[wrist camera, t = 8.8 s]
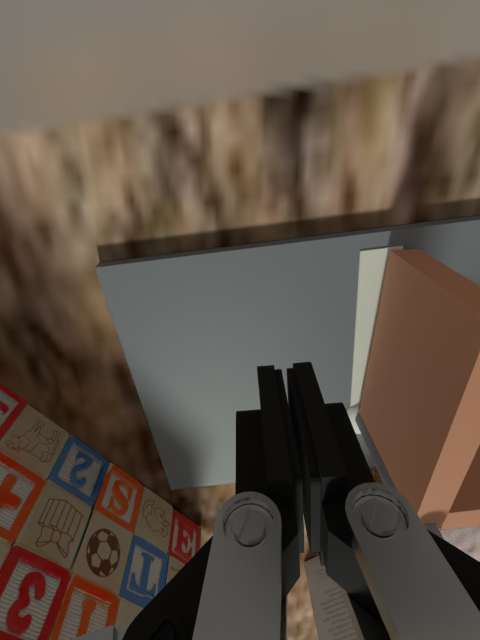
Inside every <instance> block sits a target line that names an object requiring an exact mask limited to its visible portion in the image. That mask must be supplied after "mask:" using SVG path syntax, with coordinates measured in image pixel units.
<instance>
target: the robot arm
mask: <svg viewBox="0 0 480 640" xmlns="http://www.w3.org/2000/svg"><path fill="white" fill-rule="evenodd" d="M257 374H258V385H259V397H260V408H261V409H257V410H245V411H236V495H234V496H233V497H231V498H230V499H229V500H227V501H226V502H225V503H224V505H223V506H222V507H221V509H220V511H219V513H218V516H217V519H216V524H215V529H214V534H213V536H212V537H211V538H210V539H209V540H208V541H207V542H206V543H205V545H204V546H203V547H202V548H201V549H200V550H199V551H198V552H197V553H196V554H195V555H194V556H193V557H192V558H191V559H190V560H189V561H188V562H187V563H186V564H185V565H184V567H183V568H182V569H181V570H180V571H179V572H178V573H177V574H176V575H175V576H174V577H173V578H172V579H171V580H170V581H169V582H168V583H167V584H166V585H165V586H164V588H163V589H162V590H161V591H160V592H159V593H158V594H157V595H156V596H155V597H154V598H153V599H152V600H151V601H150V602H149V603H148V604H147V605H146V606H145V607H144V608H143V610H142V611H141V612H140V613H139V614H138V615H137V616H136V617H135V619H134V620H133V621H132V623H129V624H126V625H123V626H120V627H118V628H115V626H114V625H110V626H107V627H105V628H102V629H99V630H96V631H93V632H90V633H88V634H85V635H82V636H79V637H76V638H73V639H71V640H287V594H288V593H289V591H290V590H291V589H292V587H293V586H294V584H295V583H296V581H297V580H298V579H299V577H300V562H299V553H304V524H303V513H304V519H305V525H306V530H307V536H308V542H309V547H310V551H311V552H318V554H319V559H320V564H321V566H325V568H326V573H327V575H328V576H329V577H330V578H331V579H332V580H334V581H335V582H336V583H337V584H338V585H339V586H340V587H341V591H342V595H343V598H344V601H345V603H346V606H347V609H348V612H349V614H350V617H351V620H352V623H353V626H354V628H355V631H356V634H357V637H358V639H359V640H480V562H478V561H477V560H475V559H474V558H472V557H471V556H469V555H467V554H466V553H464V552H463V551H461V550H459V549H458V548H456V547H455V546H453V545H451V544H450V543H448V542H447V541H445V540H443V539H442V538H440V537H439V536H437V535H435V534H434V533H432V532H431V531H429V530H427V529H426V527H425V526H424V524H423V523H422V521H421V519H420V518H419V516H418V515H417V513H416V512H415V510H414V508H413V507H412V505H411V504H410V503H409V502H408V501H407V499H406V498H405V497H404V496H403V495H402V494H400V493H399V492H398V491H396V490H395V489H393V488H391V487H389V486H387V485H384V484H380V483H375V481H374V479H373V476H372V474H371V471H370V469H369V466H368V464H367V461H366V459H365V456H364V454H363V451H362V449H361V446H360V443H359V441H358V438H357V436H356V433H355V431H354V428H353V426H352V423H351V421H350V418H349V416H348V413H347V411H346V408H345V406H344V404H343V403H342V402H339V403H327V404H325V403H324V400H323V397H322V393H321V390H320V387H319V384H318V381H317V378H316V375H315V372H314V369H313V366H312V363H311V362H301V363H293V368H287V390H288V401H287V395H286V390H285V385H284V380H283V375H282V370H281V369H275V367H274V365H268V366H257Z"/></svg>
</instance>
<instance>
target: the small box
mask: <svg viewBox="0 0 480 640" xmlns="http://www.w3.org/2000/svg"><path fill="white" fill-rule="evenodd" d="M304 567H305V572H306V576H307V581H308V587H309V592H310V597H311V602H312V607H313V613H314V618H315V623H316V628H317V634H318V639H319V640H359V639H358V637H357V634H356V631H355V628H354V626H353V623H352V620H351V617H350V614H349V612H348V609H347V606H346V603H345V601H344V598H343V595H342V591H341V587H340V586H339V585H338V584H337V583H336V582H335V581H334V580H332V579H331V578H330V577H329V576H328V575H327V573H326V568H325V566H321V564H320V559H319V555H318V556H316V557H314V558H312V559H310V560H308V561H306V562H305V563H304Z"/></svg>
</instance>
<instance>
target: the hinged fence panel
mask: <svg viewBox="0 0 480 640" xmlns="http://www.w3.org/2000/svg"><path fill="white" fill-rule="evenodd" d="M355 422H356V424H357V426H358V428H359V430H360V432H361V435H362V437H363V439H364V441H365V443H366V446H367V448H368V450H369V452H370V454H371V457H372V459H373V461H374V463H375V465H376V468H377V470H378V472H379V474H380V476H381V479H382V481H383V483H384V485H387V486H389V487H391V488H393V489H395V490H396V491H398V492H399V493H400V494H402V495H403V496H404V497H405V498H406V499H407V501H408V502H409V503H410V504H411V505H412V507H413V508H414V510H415V512H416V513H417V515H418V516H419V518H420V519H421V521H422V523H423V524H424V526H425V527H426V529H427V530H429V531H431V532H432V533H434V534H435V535H437V536H439V537H440V538H442V539H443V537H442V535H441V533H440V531H439V530H438V528H437V526H436V524H435V523H442V522H444V521H445V519H446V517H447V515H448V512H449V510H450V508H451V506H452V504H453V502H454V499H455V497H456V495H457V493H458V491H459V488H460V486H461V484H462V482H463V480H464V478H465V475H466V473H467V471H468V469H469V467H470V464H471V462H472V460H473V458H474V456H475V454H476V451H477V449H478V447H479V445H480V286H479V285H477V284H476V283H474V282H472V281H471V280H469V279H467V278H466V277H464V276H463V275H461V274H459V273H458V272H456V271H454V270H453V269H451V268H449V267H448V266H446V265H445V264H443V263H441V262H440V261H438V260H436V259H435V258H433V257H432V256H430V255H428V254H427V253H425V252H423V251H422V250H420V249H407V250H390V255H389V260H388V265H387V270H386V276H385V281H384V286H383V291H382V296H381V301H380V307H379V312H378V317H377V322H376V327H375V333H374V338H373V343H372V348H371V353H370V358H369V364H368V369H367V374H366V379H365V384H364V389H363V395H362V400H361V405H360V410H359V414H357V416H356V418H355ZM443 540H444V539H443Z"/></svg>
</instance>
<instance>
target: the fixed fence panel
mask: <svg viewBox="0 0 480 640" xmlns="http://www.w3.org/2000/svg"><path fill="white" fill-rule="evenodd" d="M437 524H438V526H439V528H440V530H447V529H456V528H465V527H475V526H480V445H479V447H478V449H477V451H476V454H475V456H474V458H473V460H472V462H471V464H470V467H469V469H468V471H467V473H466V475H465V478H464V480H463V482H462V484H461V486H460V488H459V491H458V493H457V495H456V497H455V499H454V502H453V504H452V506H451V508H450V510H449V512H448V515H447V517H446V519H445V521H444V522H442V523H437Z"/></svg>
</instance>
